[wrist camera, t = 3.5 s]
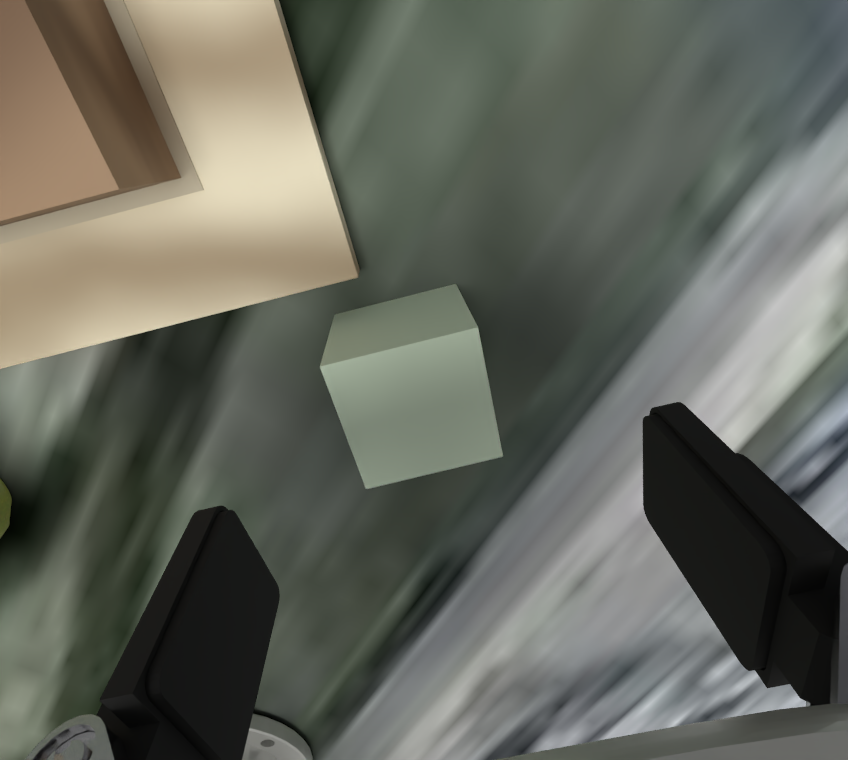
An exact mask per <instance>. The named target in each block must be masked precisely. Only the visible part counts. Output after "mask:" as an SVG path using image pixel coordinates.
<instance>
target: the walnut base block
mask: <svg viewBox="0 0 848 760" xmlns="http://www.w3.org/2000/svg"><path fill="white" fill-rule="evenodd" d="M179 178H181V175H180V173H179V171H178V169H177V166H176V164H175V162H174V160H173V157H172V155H171V153H170V150H169V148H168V146H167V144H166V141H165V139H164V137H163V134H162V132H161V130H160V128H159V125H158V123H157V121H156V119H155V116H154V114H153V112H152V109H151V107H150V105H149V103H148V100H147V98H146V96H145V93H144V91H143V89H142V87H141V84H140V82H139V80H138V77H137V75H136V73H135V71H134V68H133V66H132V64H131V62H130V59H129V57H128V55H127V52H126V50H125V48H124V46H123V43H122V41H121V39H120V36H119V34H118V32H117V30H116V27H115V25H114V23H113V21H112V18H111V16H110V14H109V11H108V9H107V7H106V5H105V2H104V0H0V226H3V225H7V224H11V223H15V222H18V221H22V220H26V219H30V218H33V217H37V216H41V215H44V214H48V213H52V212H56V211H59V210H63V209H67V208H71V207H74V206H78V205H82V204H86V203H89V202H93V201H97V200H101V199H104V198H108V197H112V196H115V195H119V194H123V193H127V192H130V191H134V190H138V189H142V188H145V187H149V186H153V185H157V184H160V183H164V182H168V181H172V180H175V179H179Z"/></svg>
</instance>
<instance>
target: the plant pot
mask: <svg viewBox="0 0 848 760" xmlns="http://www.w3.org/2000/svg"><path fill="white" fill-rule="evenodd" d="M11 503H12V498H11V495H10V493H9V490H8V489H7V487H6V486H5V484H4V483H3V481H2V480H1V479H0V538H1V537H2V535H3V534H4V533H5V531H6V530H7V528H8V527H9V525H10V512H11Z"/></svg>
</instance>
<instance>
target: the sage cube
mask: <svg viewBox="0 0 848 760" xmlns="http://www.w3.org/2000/svg"><path fill="white" fill-rule="evenodd" d="M320 369H321V371H322V374H323V377H324V379H325V382H326V385H327V387H328V390H329V392H330V395H331V398H332V400H333V403H334V406H335V408H336V411H337V414H338V416H339V419H340V422H341V424H342V427H343V430H344V432H345V435H346V437H347V440H348V443H349V445H350V448H351V451H352V453H353V456H354V459H355V461H356V464H357V467H358V469H359V472H360V474H361V477H362V480H363V482H364V485H365V488H366V489H369V488H373V487H378V486H382V485H386V484H390V483H394V482H399V481H403V480H407V479H411V478H415V477H420V476H424V475H428V474H432V473H436V472H441V471H445V470H449V469H453V468H457V467H462V466H466V465H470V464H474V463H478V462H483V461H487V460H491V459H495V458H499V457H503V453H502V448H501V443H500V438H499V433H498V428H497V422H496V417H495V412H494V407H493V402H492V397H491V392H490V387H489V381H488V376H487V371H486V366H485V361H484V356H483V351H482V345H481V340H480V335H479V330H478V326H477V324H476V322H475V320H474V318H473V316H472V315H471V313H470V311H469V309H468V307H467V305H466V303H465V301H464V299H463V297H462V295H461V293H460V291H459V289H458V287H457V285H456V284H453V285H449V286H445V287H441V288H437V289H433V290H429V291H425V292H421V293H418V294H414V295H410V296H406V297H402V298H398V299H394V300H390V301H386V302H382V303H378V304H374V305H370V306H366V307H362V308H358V309H354V310H350V311H346V312H342V313H339V314H335V315H334V318H333V322H332V325H331V329H330V332H329V336H328V339H327V343H326V347H325V350H324V354H323V357H322V361H321V364H320Z"/></svg>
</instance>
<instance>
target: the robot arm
mask: <svg viewBox="0 0 848 760" xmlns="http://www.w3.org/2000/svg"><path fill="white" fill-rule="evenodd" d="M643 505H644V511H645V514H646V517H647V519H648V521H649V523H650V524H651V526H652V527H653V529H654V531H655V532H656V534H657V535H658V537H659V538H660V540H661V541H662V543H663V544H664V546H665V548H666V549H667V551H668V552H669V554H670V555H671V557H672V558H673V560H674V561H675V563H676V564H677V566H678V568H679V569H680V571H681V572H682V574H683V575H684V577H685V578H686V580H687V581H688V583H689V584H690V586H691V588H692V589H693V591H694V592H695V594H696V595H697V597H698V598H699V600H700V601H701V603H702V604H703V606H704V608H705V609H706V611H707V612H708V614H709V615H710V617H711V618H712V620H713V621H714V623H715V625H716V626H717V628H718V629H719V631H720V632H721V634H722V635H723V637H724V638H725V640H726V641H727V643H728V645H729V646H730V648H731V649H732V651H733V652H734V654H735V655H736V657H737V658H738V660H739V661H740V663H741V664H742V665H743V666H744V667H745V668H746V669H747V670H749V671H751V670H755V671H756V672H757V674H758V675H759V677H760V678H761V680H762V681H763V683H764V684H765V686H766V687H767V688H770V687H776V686H781V685H786V684H791V686H792V687H793V689H794V690H795V691H796V693H797V694H798V696H799V697H800V698H801V699H803V700H805V701H806V707H798V708H789V709H780V710H773V711H767V712H761V713H755V714H749V715H743V716H737V717H731V718H724V719H718V720H712V721H706V722H700V723H694V724H688V725H682V726H676V727H671V728H665V729H660V730H654V731H649V732H644V733H638V734H633V735H627V736H622V737H616V738H611V739H605V740H600V741H594V742H589V743H583V744H578V745H573V746H567V747H562V748H556V749H551V750H545V751H540V752H534V753H529V754H524V755H519V756H513V757H508V758H503V759H497V760H848V551H847V550H846V549H845V548H844V547H843V546H842V545H840V544H839V543H838V542H837V541H836V540H835V539H834V538H833V537H832V536H831V535H830V534H829V533H828V532H827V531H825V530H824V529H823V528H822V527H821V526H820V525H819V524H818V523H817V522H816V521H815V520H814V519H813V518H812V517H811V516H809V515H808V514H807V513H806V512H805V511H804V510H803V509H802V508H801V507H800V506H799V505H798V504H797V503H796V502H794V501H793V500H792V499H791V498H790V497H789V496H788V495H787V494H786V493H785V492H784V491H783V490H782V489H781V488H779V487H778V486H777V485H776V484H775V483H774V482H773V481H772V480H771V479H770V478H769V477H768V476H767V475H766V474H765V473H763V472H762V471H761V470H760V469H759V468H758V467H757V466H756V465H755V464H754V463H753V462H752V461H751V460H749V459H748V458H747V457H745V456H744V455H742V454H738V453H736V454H735V453H734V452H733V451H732V450H731V449H730V448H729V447H728V446H727V445H726V444H725V443H724V442H723V441H722V440H721V439H720V438H719V437H717V436H716V435H715V434H714V433H713V432H712V431H711V430H710V429H709V428H708V427H707V426H706V425H705V424H704V423H703V422H702V421H701V420H700V419H699V418H698V417H697V416H696V415H694V414H693V413H692V412H691V411H690V410H689V409H688V408H687V407H686V406H685V405H684V404H682V403H681V402H676V403H672V404H667V405H663V406H659V407H654V408H652V409H651V411H650V415H649V416H645V417H644V419H643ZM278 604H279V588H278V585H277V583H276V581H275V579H274V578H273V576H272V574H271V573H270V571H269V569H268V567H267V566H266V564H265V562H264V561H263V559H262V557H261V555H260V554H259V552H258V550H257V549H256V547H255V545H254V543H253V542H252V540H251V538H250V537H249V535H248V533H247V532H246V530H245V528H244V526H243V525H242V523H241V521H240V520H239V518H238V516H237V514H236V513H235V512H234V511H233V510H228V509H227V508H226V507H224V506H217V507H212V508H208V509H204V510H199V511H197V512H195V513H194V515H193V516H192V518H191V520H190V522H189V524H188V526H187V528H186V530H185V532H184V534H183V536H182V538H181V540H180V542H179V544H178V546H177V548H176V550H175V552H174V554H173V556H172V557H171V559H170V561H169V563H168V565H167V567H166V569H165V571H164V573H163V575H162V577H161V579H160V581H159V583H158V585H157V587H156V589H155V591H154V593H153V595H152V597H151V599H150V601H149V603H148V605H147V607H146V609H145V611H144V613H143V615H142V617H141V619H140V621H139V623H138V625H137V627H136V629H135V631H134V633H133V635H132V637H131V639H130V641H129V643H128V645H127V647H126V649H125V651H124V653H123V655H122V657H121V659H120V661H119V663H118V665H117V667H116V669H115V671H114V673H113V675H112V677H111V679H110V680H109V682H108V684H107V686H106V688H105V690H104V692H103V694H102V696H101V698H100V701H101V702H102V705H101V707H100V709H99V711H98V713H97V715H96V716H95V715H93V714H89V715H80V716H78V717H75V718H73V719H71V720H68V721H66V722H65V723H63V724H62V725H60V726H59V727H57V728H56V729H54V730H53V731H52V732H51V733H49V734H48V735H47V736H46V737H45V738H44V739H43V740H42V741H41V742H39V743H38V744H37V746H36V747H35V748H34V749H33V750H32V752H31V753H30V754H29V755H28V756H27V757H26V759H25V760H313V757H312V754H311V750H310V748H309V746H308V745H307V743H306V742H305V740H304V739H303V738H302V737H301V736H300V735H298V734H297V733H296V732H295V731H294V730H292V729H291V728H289V727H287V726H286V725H284V724H282V723H280V722H278V721H275V720H273V719H270V718H268V717H265V716H261V715H257V714H253V711H254V707H255V702H256V698H257V694H258V690H259V685H260V681H261V677H262V672H263V668H264V664H265V659H266V655H267V651H268V647H269V642H270V638H271V634H272V629H273V625H274V621H275V617H276V612H277V608H278Z"/></svg>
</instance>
